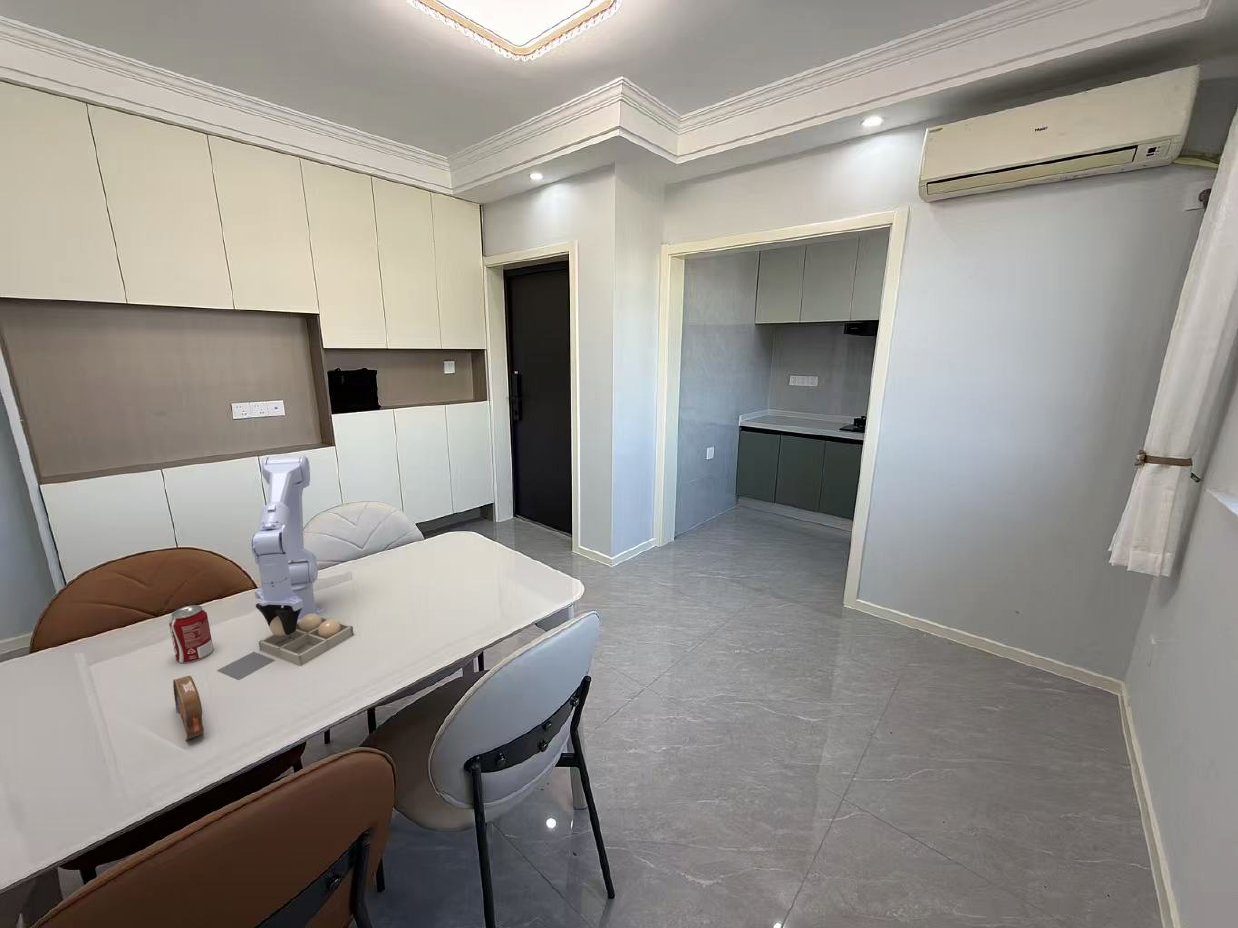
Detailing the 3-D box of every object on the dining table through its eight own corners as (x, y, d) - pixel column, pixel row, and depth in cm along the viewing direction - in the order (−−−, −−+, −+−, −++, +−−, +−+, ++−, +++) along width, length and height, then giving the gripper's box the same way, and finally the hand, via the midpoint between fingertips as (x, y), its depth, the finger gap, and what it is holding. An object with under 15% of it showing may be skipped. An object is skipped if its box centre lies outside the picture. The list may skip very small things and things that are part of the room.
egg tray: (260, 652, 120) (258, 641, 120) (315, 624, 133) (314, 613, 132) (300, 668, 115) (298, 656, 114) (353, 636, 128) (352, 626, 127)
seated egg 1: (295, 635, 127) (293, 617, 126) (314, 625, 131) (312, 608, 130) (309, 639, 125) (306, 621, 124) (327, 630, 130) (325, 612, 128)
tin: (175, 709, 101) (167, 673, 99) (195, 702, 103) (188, 666, 102) (187, 749, 91) (179, 710, 89) (209, 740, 94) (202, 701, 92)
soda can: (220, 652, 120) (212, 606, 118) (189, 668, 114) (180, 621, 111) (201, 646, 122) (193, 601, 120) (169, 662, 116) (160, 615, 113)
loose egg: (266, 636, 120) (263, 618, 119) (287, 626, 124) (284, 608, 123) (280, 641, 118) (277, 622, 117) (300, 631, 123) (298, 613, 121)
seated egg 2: (314, 641, 124) (311, 623, 123) (332, 631, 129) (330, 614, 128) (328, 646, 122) (325, 628, 121) (346, 636, 127) (344, 618, 126)
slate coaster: (216, 672, 113) (216, 670, 113) (254, 653, 120) (253, 651, 120) (239, 682, 110) (238, 680, 109) (275, 662, 117) (275, 660, 117)
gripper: (238, 579, 117) (246, 631, 120) (278, 591, 112) (286, 645, 115) (269, 567, 124) (276, 617, 127) (308, 579, 118) (315, 630, 121)
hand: (283, 630), depth 121 cm, fingers closed on loose egg, 5 cm apart
